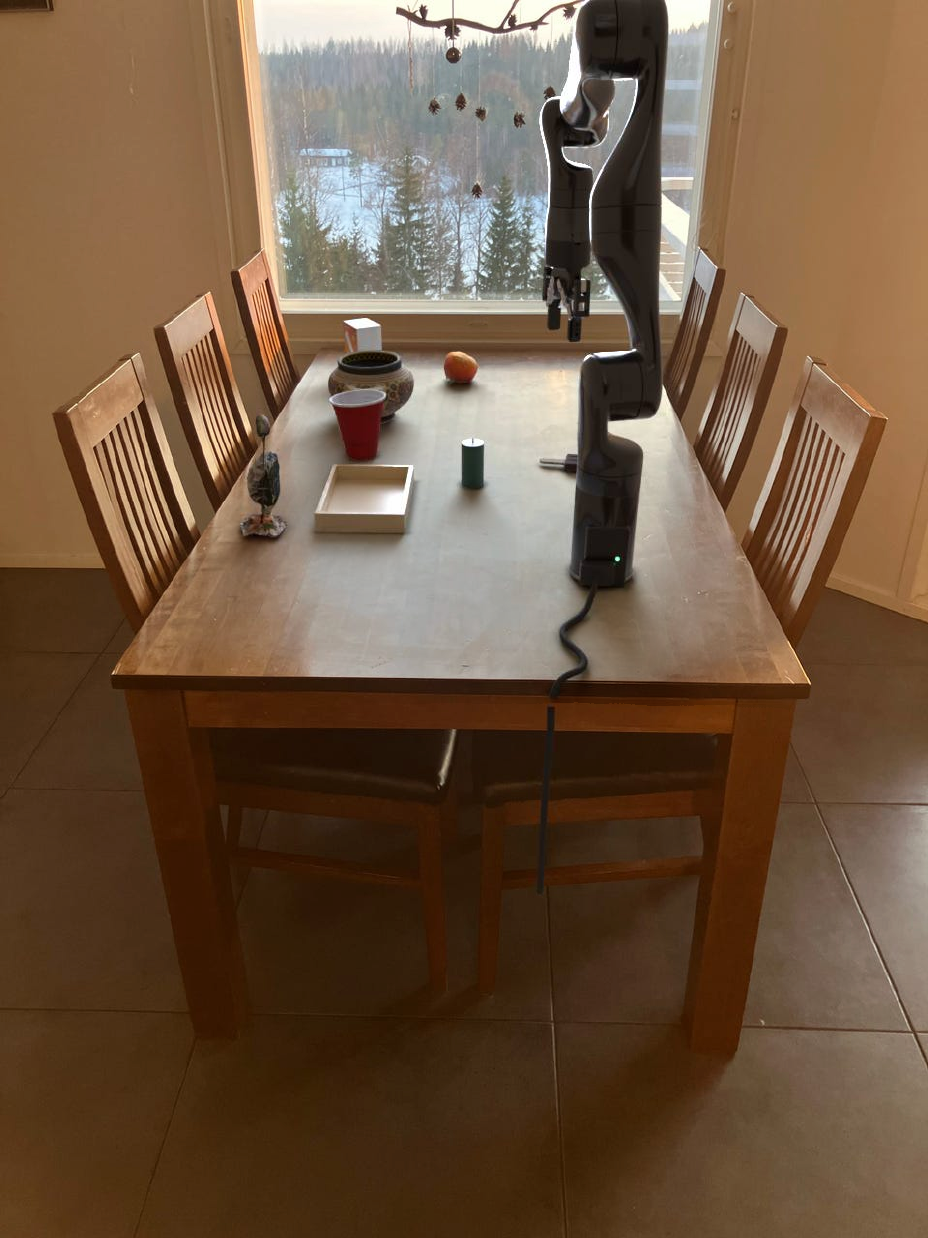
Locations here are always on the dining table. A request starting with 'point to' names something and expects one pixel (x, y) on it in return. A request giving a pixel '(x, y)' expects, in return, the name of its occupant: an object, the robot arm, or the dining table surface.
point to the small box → (362, 335)
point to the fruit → (459, 367)
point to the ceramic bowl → (374, 378)
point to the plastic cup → (359, 421)
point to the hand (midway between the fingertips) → (563, 335)
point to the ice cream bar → (564, 462)
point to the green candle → (472, 463)
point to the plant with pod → (264, 488)
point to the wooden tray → (365, 499)
